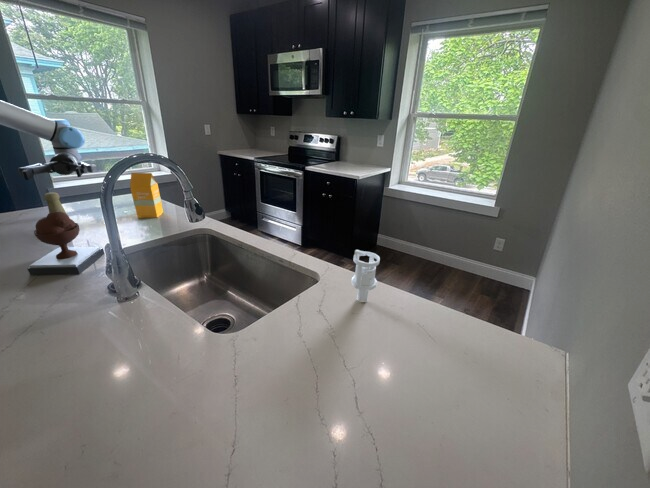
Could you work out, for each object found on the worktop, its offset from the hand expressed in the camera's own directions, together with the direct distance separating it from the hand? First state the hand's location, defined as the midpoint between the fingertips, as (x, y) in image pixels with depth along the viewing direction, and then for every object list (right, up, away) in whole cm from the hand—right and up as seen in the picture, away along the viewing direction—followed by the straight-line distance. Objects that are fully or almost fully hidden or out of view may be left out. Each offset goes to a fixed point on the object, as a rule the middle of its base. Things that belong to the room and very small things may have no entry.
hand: (52, 174), depth 100 cm
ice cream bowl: (+8, -27, -3) cm, 28 cm away
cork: (-30, -11, +36) cm, 48 cm away
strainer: (+102, -40, -14) cm, 111 cm away
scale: (+7, -30, -2) cm, 31 cm away
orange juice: (+8, -10, +42) cm, 44 cm away
